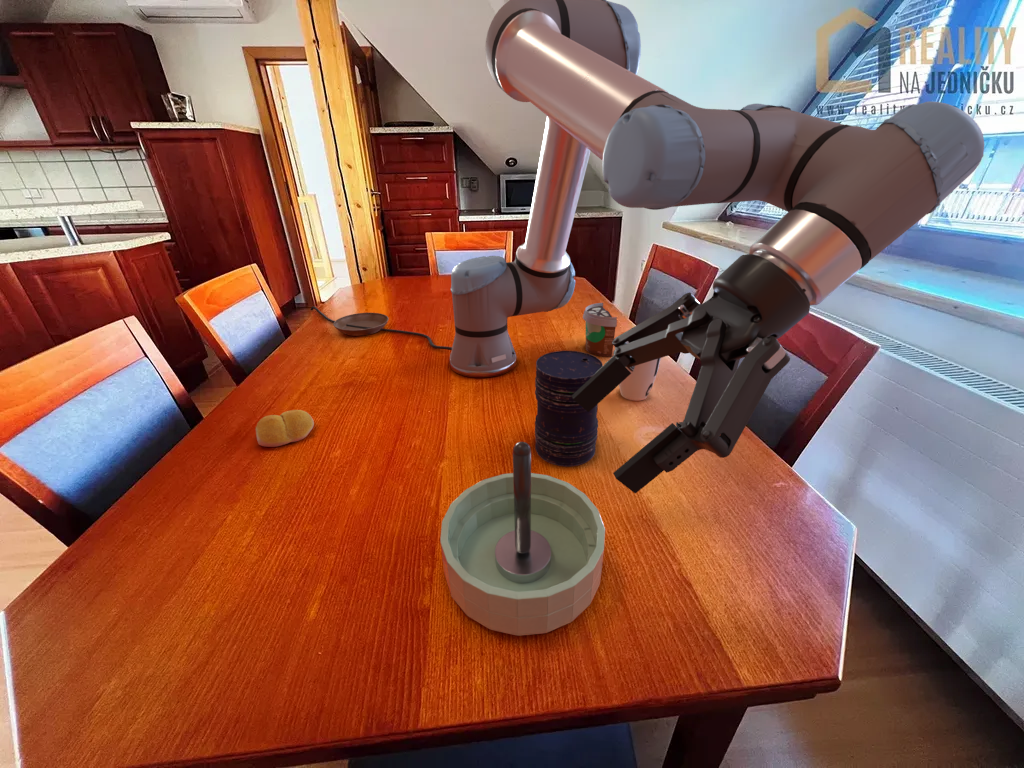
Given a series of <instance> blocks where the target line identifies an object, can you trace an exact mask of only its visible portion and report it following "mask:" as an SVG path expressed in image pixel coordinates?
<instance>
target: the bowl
mask: <svg viewBox="0 0 1024 768" xmlns="http://www.w3.org/2000/svg"><path fill="white" fill-rule="evenodd" d="M514 530H515V527H514V484H513V472H510V473H509V472H508V473H502V474H499V475H495V476H491V477H488V478H484V479H482V480H480V481H479V482H477V483H475V484H473V485H471V486H470V487H468V488H466V489H464V490H463V491H462V493H460V495H458V496H457V497H456V498H455V499H454V500H453V501H452V502H451V503H450V504H449V507H448V509H447V511H446V513H445V515H444V517H443V519H442V520H441V528H440V538H439V543H440V550H441V558H442V565H443V573H444V577H445V580H446V584H447V587H448V590H449V593H450V597H451V598H452V599H453V601H454V602H455V603H456V604H457V605H458V607H459V608H460V609H461V610H462V612H463V613H464V614H465V616H467V617H468V618H469V619H471V620H473V621H475V622H477V623H478V624H480V625H482V626H483V627H485V628H487V629H489V630H491V631H495V632H499V633H502V634H503V633H504V634H509V635H513V636H517V637H521V636H530V635H540V634H541V635H542V634H547V633H550V632H552V631H554V630H556V629H559V628H561V627H564V626H566V625H568V624H570V623H572V622H574V620H575V619H577V618H578V617H579V616H580V615H581V614H582V613H583V612H584V611H585V610H586V609H587V608H588V607H589V606H590V605H591V604H592V601H593V600H594V597H595V596H596V593H597V591H598V589H599V587H600V585H601V580H602V579H601V578H602V570H603V563H604V553H605V540H606V539H605V538H606V527H605V525H604V522H603V519H602V517H601V513H600V511H599V508H597V506H596V505H595V504H594V503H593V501H591V499H590V498H589V497H588V496H587V495H586V493H584V492H583V491H581V490H580V489H578V488H577V487H576V486H574V485H573V484H571V483H570V482H568V481H565V480H563V479H559V478H556V477H554V476H551V475H548V474H541V473H534V472H531V530H532V531H535V532H537V533H539V534H541V535H542V536H543V537H544V538H546V540H547V541H548V543H549V545H550V547H551V565H550V568H549V570H548V572H547V573H546V574H545V575H544V576H543V577H542V578H540V579H539V580H537V581H534V582H531V583H515V582H512V581H510V580H508V579H506V578H505V577H503V576H502V575H501V574H500V572H499V571H498V569H497V567H496V563H495V547H496V544H497V543H498V541H499V540H500V538H501V537H502V536H504V535H505V534H507V533H508V532H511V531H514Z"/></svg>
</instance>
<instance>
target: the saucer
mask: <svg viewBox="0 0 1024 768" xmlns="http://www.w3.org/2000/svg"><path fill="white" fill-rule="evenodd" d="M389 318H390V317H388V315H386V314H384V313H381V312H380V313H379V312H359V313H352V314H348V315H344V316H341V317H339V318H338V319H336V320H334V321H335V322H334V323H332V324H333V325H332V326H333V327H334V328H335V329H336V330H337V331H339V332H340V333H342V334H344V335H347V336H351V337H352V336H353V337H361V336H369V335H373V334H376V333H378V332H381V331H380V329H384V327H386V325H387V324H388V322H389ZM346 324H348V325H355V326H362V327H372V328H368V329H362V328H356V327H350V326H346Z"/></svg>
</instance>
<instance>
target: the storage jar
mask: <svg viewBox="0 0 1024 768" xmlns="http://www.w3.org/2000/svg"><path fill="white" fill-rule="evenodd" d="M602 366H604V364H603V362H602V360H601V359H599V358H598V357H596V355H594V354H591V353H587V352H584V351H579V350H557V351H550V352H547V353H544V354H542V355H541V356H540V357H538V358H537V359H536V362H535V378H534V387H535V390H534V394H535V399H536V416H535V420H534V437H535V439H534V440H535V446H534V447H535V452H536V454H537V455H538V457H540V458H541V460H543V461H545V462H547V463H549V464H551V465H554V466H559V467H576V466H581V465H584V464H586V463H588V462H589V461H591V460H592V459H593V458H594V456H595V454H596V444H597V440H598V433H599V430H598V429H599V419H598V417H597V416H598V406H599V403H598V404H597V405H596V406H595V407H594V408H593V409H592V410H591V411H590V412H587V411H586V410H585V409H584V408H583V407H582V406H580V405H579V404H578V403H577V402H576V401H574V400H573V398H572V395H573V394H574V393H575V392H576V391H577V390H578V389H580V388H581V387H582V386H583V385H584V384H585V383H586V382H587V381H588V380H589V379H590V378H591V377H592V376H593V375H594V374H595V373H596V372H597V371H598V370H599V369H600V368H601V367H602Z"/></svg>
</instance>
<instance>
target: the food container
mask: <svg viewBox="0 0 1024 768" xmlns="http://www.w3.org/2000/svg"><path fill="white" fill-rule="evenodd" d="M582 319H583V320H584V322H585V350H586V352H588V354H590V355H593V356H599V357H610V358H612V357H613V351H614V349H613V348H614V345H613V344H612V341H613V340H614V339H615V334H616V328H617V327H618V320H617V319H618V317H617V316H612V314H611V313H610V312H609V311H608V310H607V309H605V307H604V302H597V303H592V304H589V305H587V306H586V307H585V309H584V310H583V314H582Z"/></svg>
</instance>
